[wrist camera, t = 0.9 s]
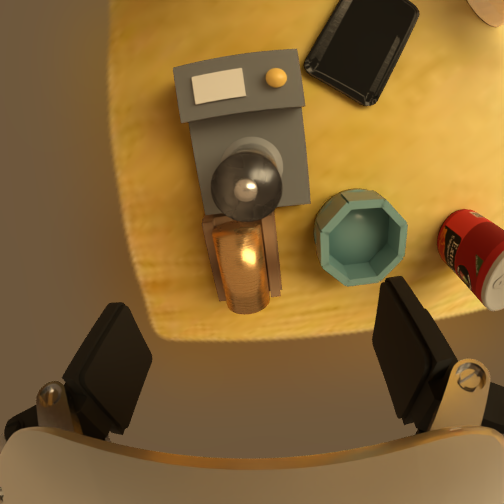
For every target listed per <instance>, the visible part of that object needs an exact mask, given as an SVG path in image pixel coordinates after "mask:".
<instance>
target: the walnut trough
mask: <svg viewBox="0 0 504 504" xmlns="http://www.w3.org/2000/svg"><path fill="white" fill-rule="evenodd" d="M202 220H203V222H202V227H203V231H204V236H205V241H206V245H207V250H208V254H209V259H210V263H211V268H212V272H213V276H214V281H215V285H216V289H217V293H218V297H219V301H226V296H225V292H224V288H223V283H222V278H221V274H220V269H219V265H218V260H217V255H216V250H215V246H214V241H213V236H212V231H213V229H214V228H215V227H217V226H219V225H221V224H223V223H226V222H229V221H234V220H233V219H231V218H229V217H227V216H226V215H224V214H223V213H220V214H212V215H205V216H204V217H203V219H202ZM257 222H259V223H260V225H261V233H262V240H263V248H264V256H265V264H266V272H267V280H268V288H269V291H270V292H271V297H277V296H281V295H280V290H282V285H281V274H280V264H279V254H278V244H277V234H276V225H275V216H274V211H273V212H272V213H271V214H269V215H268V216H267V217H265V218H263V219H261V220H258V221H257Z"/></svg>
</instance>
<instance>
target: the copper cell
mask: <svg viewBox="0 0 504 504" xmlns="http://www.w3.org/2000/svg"><path fill="white" fill-rule="evenodd" d="M212 236H213V241H214V246H215V250H216V255H217V260H218V265H219V269H220V274H221V278H222V283H223V288H224V292H225V296H226V301H227V305H228V308H229V309H230V310H231V311H233V312H235V313H238V314H252V313H256V312H259V311H261V310H262V309H264V308H265V307H266V306H267V305H268V304H269V301H270V296H269V288H268V280H267V272H266V264H265V256H264V248H263V240H262V233H261V225H260V223H259V222H257V221H254V222H240V221H236V220H234V221H229V222H226V223H223V224H221V225H219V226H217V227H215V228H214V229H213V231H212Z"/></svg>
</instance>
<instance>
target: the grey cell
mask: <svg viewBox="0 0 504 504" xmlns="http://www.w3.org/2000/svg"><path fill="white" fill-rule="evenodd" d="M282 189H283V188H282V180H281V176H280V173H279V171H278V168H277V164H276V161H275V158H274V156H273V154H272V153H271V152H270V151H269V150H268V149H267V148H266V147H264V146H262V145H259V144H255V143H248V144H244V145H241V146H239V147H238V148H236V149H235V150H234V151H233V152H232V153H231V154H230V155H229V156H228V157H227V158H226V159H225V160H223V161H222V162H221V163H220V165H219V166H218V167H217V168H216V170H215V172H214V174H213V176H212V179H211V195H212V198H213V201H214V203H215V205H216V206H217V208H218V209H219V210H220V211H221V212H222V213H223V214H224V215H226V216H227V217H229V218H231V219H233V220H236V221H240V222H254V221H258V220H261V219H263V218H265V217H267V216H268V215H269V214H271V213H272V212H273V211H274V210H275V208H276V207H277V206H278V204H279V202H280V199H281V196H282Z"/></svg>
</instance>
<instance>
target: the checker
mask: <svg viewBox="0 0 504 504" xmlns="http://www.w3.org/2000/svg"><path fill="white" fill-rule="evenodd" d="M173 73H174V80H175V87H176V94H177V101H178V107H179V113H180V119H181V123H189V128H190V134H191V140H192V146H193V152H194V157H195V163H196V168H197V174H198V179H199V185H200V190H201V195H202V200H203V205H204V210H205V215H212V214H220V213H222V212H221V211H220V210H219V209H218V208H217V206H216V205H215V203H214V201H213V198H212V195H211V179H212V176H213V174H214V172H215V170H216V168H217V167H218V166H219V165H220V163H221V162H222V161H223V160H225V159H226V158H227V157H228V156H229V155H230V154H231V153H232V152H233V151H234V150H235V149H236V148H238V147H239V146H241V145H244V144H248V143H255V144H259V145H262V146H264V147H266V148H267V149H268V150H269V151H270V152H271V153H272V154H273V156H274V158H275V161H276V164H277V168H278V171H279V173H280V176H281V180H282V188H283V189H282V196H281V199H280V202H279V204H278V206H277V207H281V206H291V205H301V204H311V203H310V188H309V176H308V164H307V153H306V143H305V134H304V125H303V116H302V108H301V107H304V106H305V100H304V92H303V85H302V78H301V71H300V64H299V58H298V52H297V49H286V50H272V51H262V52H253V53H245V54H238V55H232V56H225V57H220V58H214V59H209V60H204V61H199V62H195V63H190V64H186V65H182V66H178V67H174V68H173Z"/></svg>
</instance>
